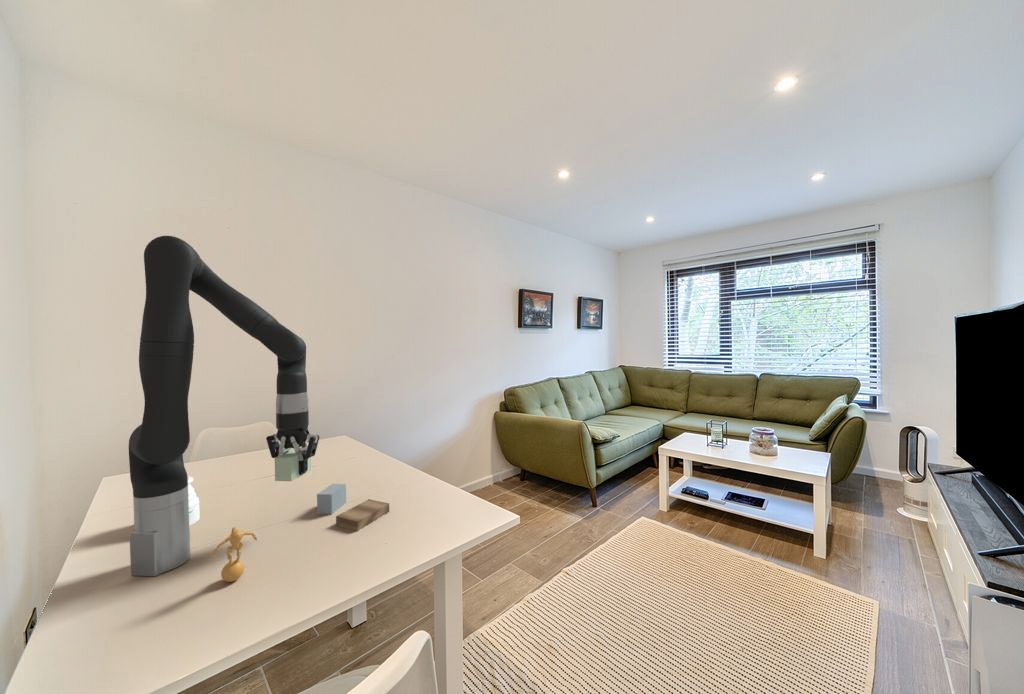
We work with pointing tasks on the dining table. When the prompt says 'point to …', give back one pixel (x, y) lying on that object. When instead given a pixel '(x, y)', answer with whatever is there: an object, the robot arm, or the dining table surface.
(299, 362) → the robot arm
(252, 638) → the dining table surface
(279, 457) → the sage brick
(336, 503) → the slate brick
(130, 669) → the dining table surface
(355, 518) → the walnut brick
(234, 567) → the figurine
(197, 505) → the honey pot
